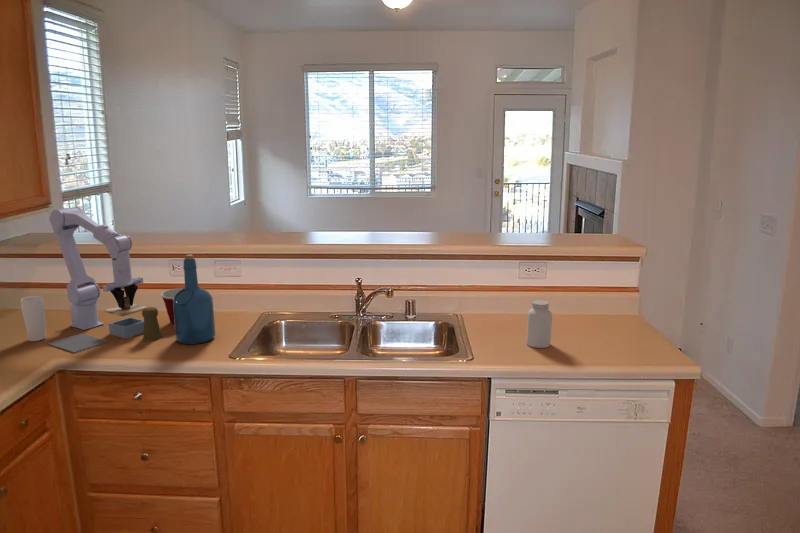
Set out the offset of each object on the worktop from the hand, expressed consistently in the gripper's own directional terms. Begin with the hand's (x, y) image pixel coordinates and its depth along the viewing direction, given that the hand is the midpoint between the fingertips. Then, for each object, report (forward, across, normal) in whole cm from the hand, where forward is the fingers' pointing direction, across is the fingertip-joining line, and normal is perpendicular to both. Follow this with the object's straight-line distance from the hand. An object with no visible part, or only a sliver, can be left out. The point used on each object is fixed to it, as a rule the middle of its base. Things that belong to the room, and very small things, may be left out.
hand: (125, 306), depth 216 cm
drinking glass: (+10, -21, +21) cm, 31 cm away
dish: (+10, 0, 0) cm, 10 cm away
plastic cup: (+10, +17, -6) cm, 21 cm away
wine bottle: (+10, +8, -26) cm, 29 cm away
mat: (+10, -16, +5) cm, 19 cm away
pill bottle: (+10, +65, -130) cm, 146 cm away
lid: (+2, 0, 0) cm, 2 cm away
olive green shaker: (+10, +1, -12) cm, 16 cm away
